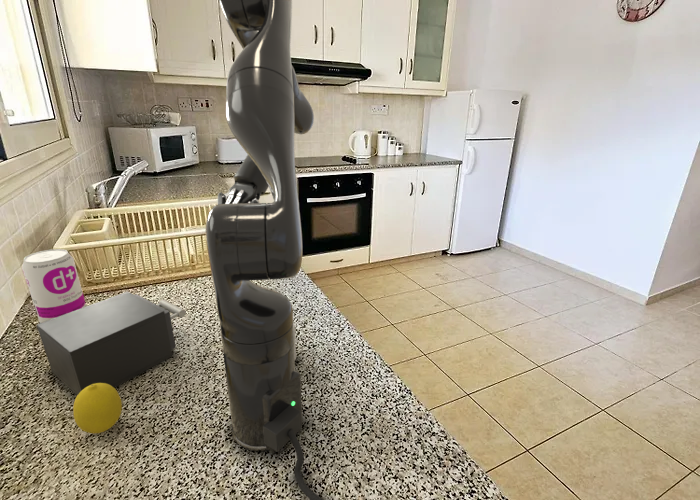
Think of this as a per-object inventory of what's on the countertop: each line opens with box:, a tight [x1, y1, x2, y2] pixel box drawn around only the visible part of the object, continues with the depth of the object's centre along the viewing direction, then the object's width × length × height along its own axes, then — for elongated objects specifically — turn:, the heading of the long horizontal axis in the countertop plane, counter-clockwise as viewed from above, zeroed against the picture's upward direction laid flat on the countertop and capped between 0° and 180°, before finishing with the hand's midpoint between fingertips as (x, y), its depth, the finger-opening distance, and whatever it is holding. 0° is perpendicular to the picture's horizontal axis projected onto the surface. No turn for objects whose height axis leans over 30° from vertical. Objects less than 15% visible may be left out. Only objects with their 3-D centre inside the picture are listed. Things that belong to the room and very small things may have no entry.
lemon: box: [72, 383, 123, 434], centre depth 52 cm, size 6×6×8 cm
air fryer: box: [36, 291, 173, 396], centre depth 65 cm, size 15×13×10 cm
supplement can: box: [21, 248, 87, 324], centre depth 77 cm, size 8×8×15 cm
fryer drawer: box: [134, 293, 187, 350], centre depth 68 cm, size 18×11×8 cm, turn 146°
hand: (219, 234), depth 80 cm, fingers closed
